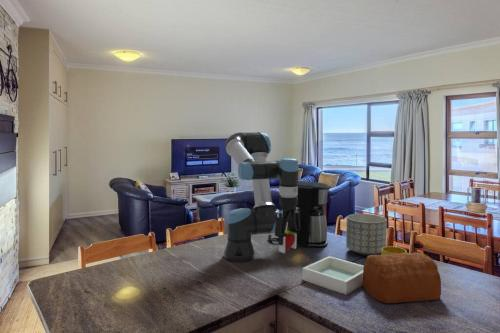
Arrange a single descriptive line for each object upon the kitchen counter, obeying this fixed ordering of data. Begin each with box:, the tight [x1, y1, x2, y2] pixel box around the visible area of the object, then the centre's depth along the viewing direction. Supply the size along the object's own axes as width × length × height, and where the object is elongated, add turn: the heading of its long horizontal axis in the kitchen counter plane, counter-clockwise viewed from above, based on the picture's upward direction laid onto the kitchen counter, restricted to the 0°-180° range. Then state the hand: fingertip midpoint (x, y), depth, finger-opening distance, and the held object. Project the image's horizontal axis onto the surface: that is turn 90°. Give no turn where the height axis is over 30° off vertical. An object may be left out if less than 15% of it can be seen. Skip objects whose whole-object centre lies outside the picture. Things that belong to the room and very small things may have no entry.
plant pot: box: [380, 245, 408, 255], centre depth 153 cm, size 10×10×10 cm
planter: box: [345, 213, 388, 257], centre depth 177 cm, size 19×19×18 cm
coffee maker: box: [267, 180, 332, 248], centre depth 194 cm, size 23×32×34 cm
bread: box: [362, 251, 442, 304], centre depth 132 cm, size 17×24×15 cm
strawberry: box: [284, 229, 295, 252], centre depth 147 cm, size 6×8×10 cm
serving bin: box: [302, 256, 364, 296], centre depth 145 cm, size 20×20×5 cm
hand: (287, 249), depth 147 cm, fingers closed on strawberry, 7 cm apart
